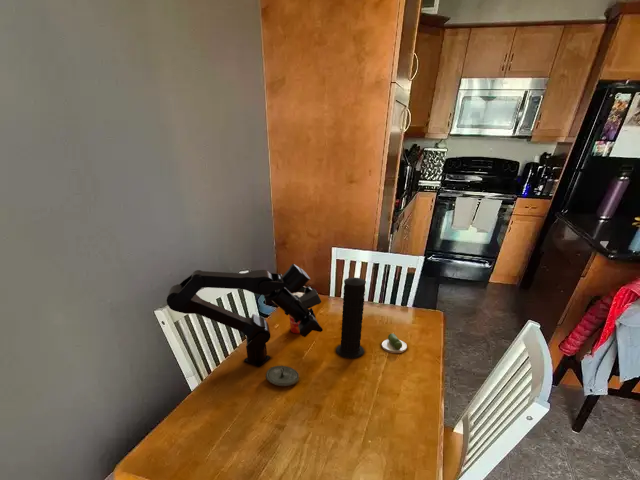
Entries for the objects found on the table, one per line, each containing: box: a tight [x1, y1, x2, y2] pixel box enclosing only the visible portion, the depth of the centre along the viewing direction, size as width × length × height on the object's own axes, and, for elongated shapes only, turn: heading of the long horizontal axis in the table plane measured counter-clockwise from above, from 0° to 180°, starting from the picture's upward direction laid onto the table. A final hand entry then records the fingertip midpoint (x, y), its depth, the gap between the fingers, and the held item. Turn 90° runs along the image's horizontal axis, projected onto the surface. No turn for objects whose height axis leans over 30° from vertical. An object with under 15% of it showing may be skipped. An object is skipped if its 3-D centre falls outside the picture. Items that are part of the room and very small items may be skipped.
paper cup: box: [288, 291, 304, 334], centre depth 137 cm, size 8×8×14 cm
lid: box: [265, 365, 300, 387], centre depth 113 cm, size 11×10×5 cm
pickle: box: [381, 332, 408, 354], centre depth 131 cm, size 9×9×4 cm
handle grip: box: [335, 277, 367, 359], centre depth 122 cm, size 10×26×10 cm
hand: (321, 330), depth 122 cm, fingers closed
